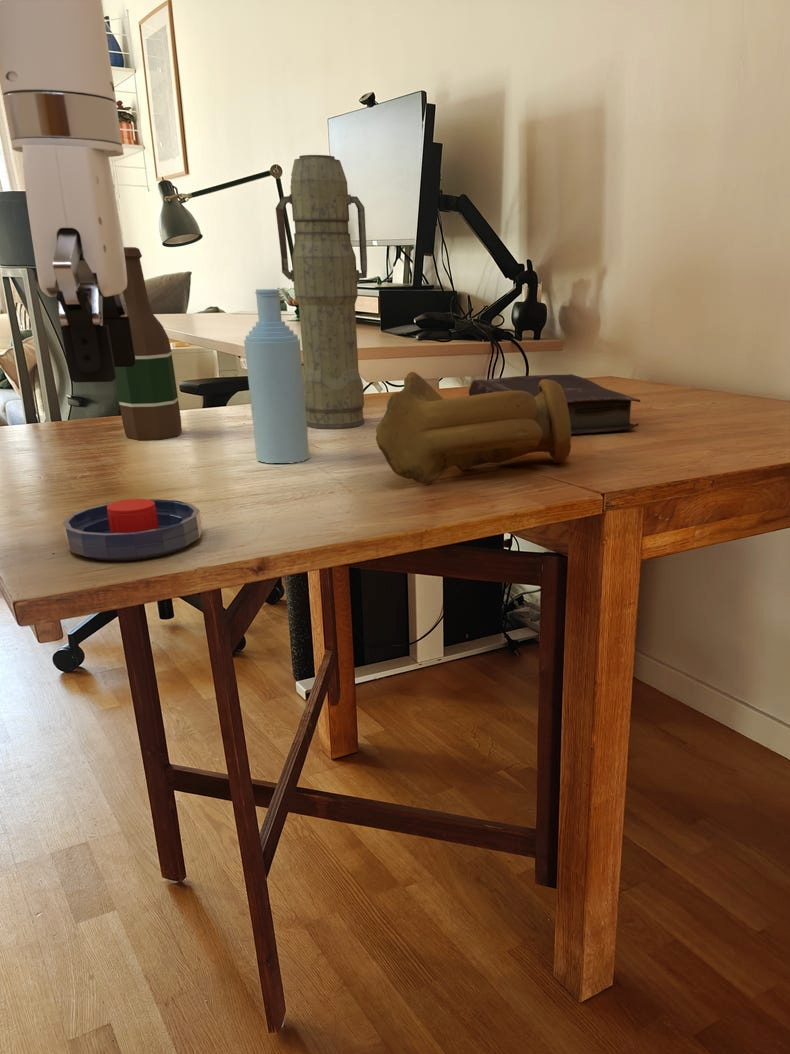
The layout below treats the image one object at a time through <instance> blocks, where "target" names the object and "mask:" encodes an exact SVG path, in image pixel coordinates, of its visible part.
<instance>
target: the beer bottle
mask: <svg viewBox="0 0 790 1054" xmlns="http://www.w3.org/2000/svg"><path fill="white" fill-rule="evenodd" d="M123 247H124V255H125V263H126V272H127V288H126V289H125V290H124V291H123V296H124V299H125V303H126V307H127V316H121V317H129V319H130V326H131V332H132V339H133V346H134V352H135V359H136V363H135V365H134V366H132V367H115V372H116V378H115V380H114V381H115V386H116V392H117V398H118V404H119V410H120V415H121V421H122V422H121V423H122V426H123V429H124V435H125V437H126V438H127V439H130V440H136V441H158V440H159V441H161V440H165V439H172V438H177V437H179V435H181V433H182V430H183V429H182V416H181V410H180V403H179V396H178V395H179V394H178V387H177V381H176V374H175V368H174V361H173V360H174V359H173V353H172V348H171V344H170V343H171V342H170V339H169V336H168V334H167V332H166V330H165V328H164V326H163V324H162V323H161V322H160V320H159V319H157V317H156V316H155V314H154V313H153V311H152V307H151V304H150V301H149V296H148V292H147V287H146V281H145V277H144V273H143V268H142V261H141V258H142V257H143V254H142V252H141V250H140V248H139V247H136V246H123Z"/></svg>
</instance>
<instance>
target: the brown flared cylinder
mask: <svg viewBox="0 0 790 1054" xmlns="http://www.w3.org/2000/svg"><path fill="white" fill-rule="evenodd" d="M403 383H404V386H403V388H402V389H401V390H400V391H396V392H393V393H391V394H390V397H389V398H388V400H387V403H386V411H385V413H384V415H383V417H382V418H381V420H380V422H379V423H378V424H377V426H376V429H375V433H376V436H375V440H376V444H377V447H378V449H379V450H380V451H381V453H382V454H383V457H384V458H385V460H386V462H387V463H388V465H389V467H390V469H391V470H392V471H393V473H394V474H396V475H397V476H399V477H402V478H404V479H407V480H410V479H412V480H413V481H414V482H416V483H419V484H423V485H424V484H425V485H427V484H429V485H430V484H432V483H434V482H436V481H437V480H438V479H439V478H440V477H441V475H442V474H443V473H445V471H447V470H449V468H451V467H457V468H458V469H459V470H460V471H462V472H463V471H466V470H469V469H471V468H473V467H477V466H479V465H480V466H481V465H484V464H485V465H486V464H497V463H503V462H506V461H509V460H512V459H516V458H518V457H522V456H524V455H528V454H531V453H540V452H541V453H548V454H549V456H550V458H551V459H552V461H553V463H555V464H560V463H562V462H564V461H565V460H566V459H567V458H568V457H569V456H570V453H571V449H572V443H571V437H572V434H571V424H570V416H569V410H568V406H567V401H566V397H565V394H564V391H563V388H562V387H561V385H560V384H558V383H557V382H556V381H553V380H548V379H543V380H541V381H540V382H539V394H538V395H537V396H536V397H534V396H533V395H532V394H530V393H528V392H525V391H502V392H492V393H485V394H478V395H472V396H469V395H467V396H466V395H465V396H460V397H452V398H446V399H444V398H443V397H442V396H441V394H439V393H438V392H437V391H436V390H435V389H434V388H433V387H432V386H431V385H430V384H429V382H427V381H426V379H424V377H422V376H421V375H420V374H418V373H417V372H415V371H410V372H409V373H408V374H407V375H406V377H404V381H403Z"/></svg>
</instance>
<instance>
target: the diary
mask: <svg viewBox="0 0 790 1054" xmlns="http://www.w3.org/2000/svg"><path fill="white" fill-rule="evenodd" d="M543 379H548V380H553V381H556V382H557V383H558V384H560V385H561V387H562V388H563V391H564V394H565V397H566V401H567V406H568V410H569V416H570V424H571V435H577V434H578V435H579V434H592V433H593V434H595V433H607V432H617V431H624V430H625V431H626V430H631V429H634V428H636V427H638V426H639V425H640V424H639V422H637V423H635V424H634V423H631V410H632V402H638V403H641V399H639V398H636V397H633V396H630V395H627V394H624V393H621V392H617V391H615V390H612V389H609V388H605V387H604V386H601V385H599V384H598V383H595V382H594V381H592V380H590V379H588V378H585V377H583V376H578V375H575V374H570V373H569V374H568V373H567V374H539V375H538V374H535V375H517V376H507V377H506V376H505V377H496V378H488V379H473V380H472V382H471V384H470V386H469V388H468V396H472V395H478V394H485V393H492V392H502V391H525V392H528V393H530V394H532V395H533V396H534V397H536V396H537V395H538V394H539V382H540V381H541V380H543Z"/></svg>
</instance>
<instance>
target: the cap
mask: <svg viewBox="0 0 790 1054" xmlns="http://www.w3.org/2000/svg"><path fill="white" fill-rule="evenodd" d="M110 503H111V504H109V505H108V506H107V511H108V513H107V515H108V520H109V526H110V531H111V533H129V532H138V531H145V530H152V529H158V528H159V523H158V517H157V511H156V507H155V502H154V501H152V500H150V499H147V498H130V499H129V498H128V499H122V500H121V499H120V500H116V501H113V502H110Z"/></svg>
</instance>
